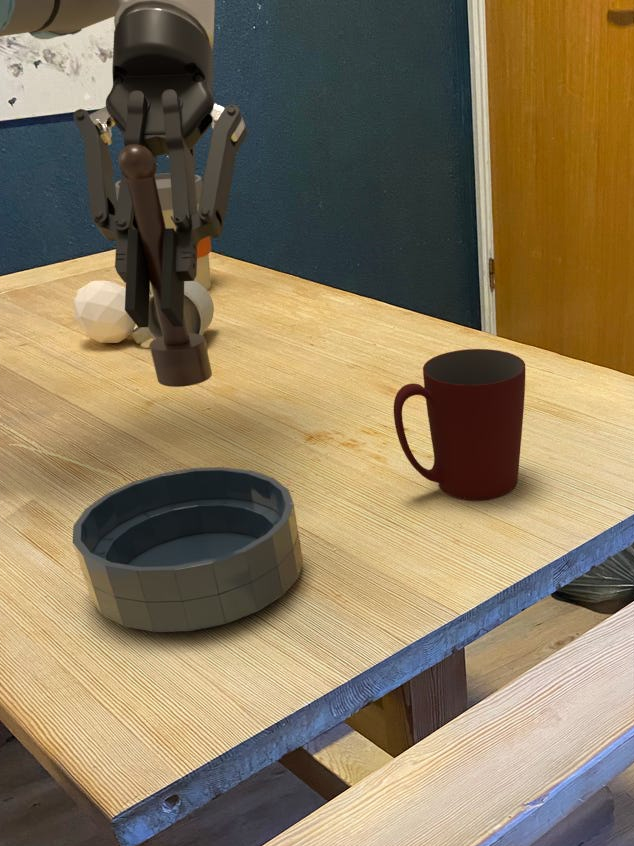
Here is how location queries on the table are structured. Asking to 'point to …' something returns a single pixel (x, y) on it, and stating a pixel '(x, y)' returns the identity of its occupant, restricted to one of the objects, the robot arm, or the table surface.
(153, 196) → the muddler
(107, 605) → the bowl
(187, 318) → the ceramic mug
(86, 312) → the geometric ball
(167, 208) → the reusable coffee cup
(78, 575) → the table surface
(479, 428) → the mug
